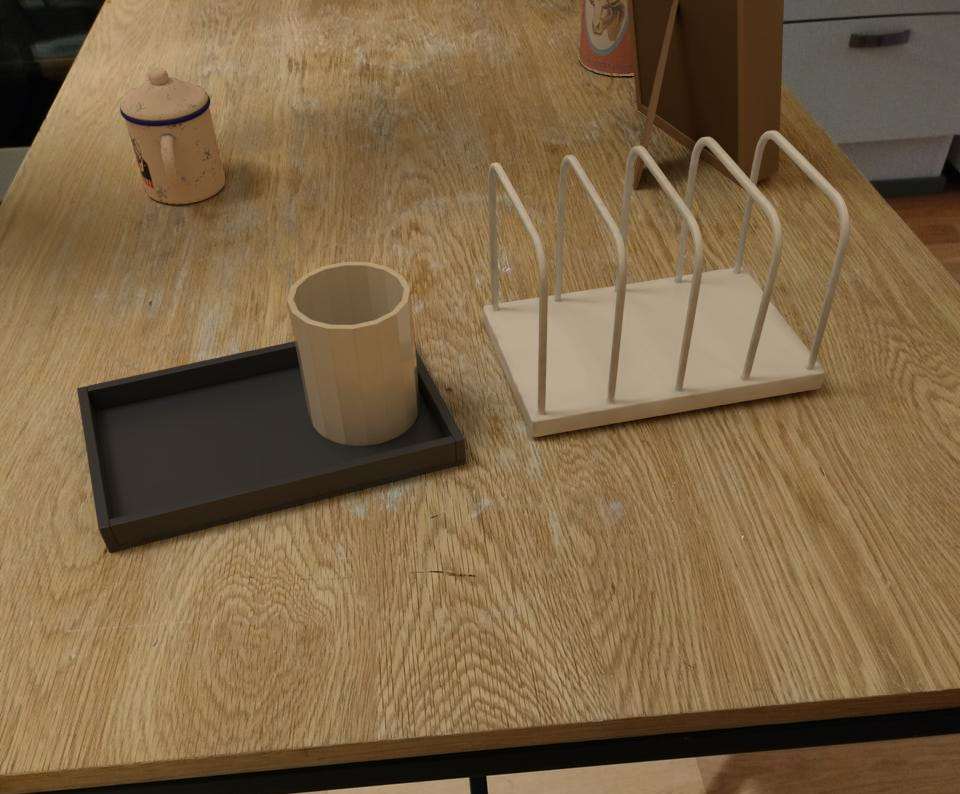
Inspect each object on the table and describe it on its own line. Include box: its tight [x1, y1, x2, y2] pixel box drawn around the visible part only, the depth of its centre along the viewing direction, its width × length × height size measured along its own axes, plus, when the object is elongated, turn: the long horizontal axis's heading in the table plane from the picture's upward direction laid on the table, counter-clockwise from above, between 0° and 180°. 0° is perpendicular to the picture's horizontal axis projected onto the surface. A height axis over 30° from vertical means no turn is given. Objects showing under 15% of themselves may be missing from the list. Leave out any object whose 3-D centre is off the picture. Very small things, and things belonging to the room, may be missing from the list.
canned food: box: [578, 0, 634, 74], centre depth 120 cm, size 11×11×12 cm
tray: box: [76, 340, 467, 553], centre depth 77 cm, size 28×18×2 cm, turn 110°
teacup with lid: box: [119, 67, 226, 205], centre depth 100 cm, size 12×9×12 cm
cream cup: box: [286, 261, 420, 446], centre depth 75 cm, size 9×9×11 cm
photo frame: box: [627, 0, 785, 189], centre depth 98 cm, size 15×22×25 cm
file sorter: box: [482, 130, 851, 438], centre depth 78 cm, size 25×17×16 cm
